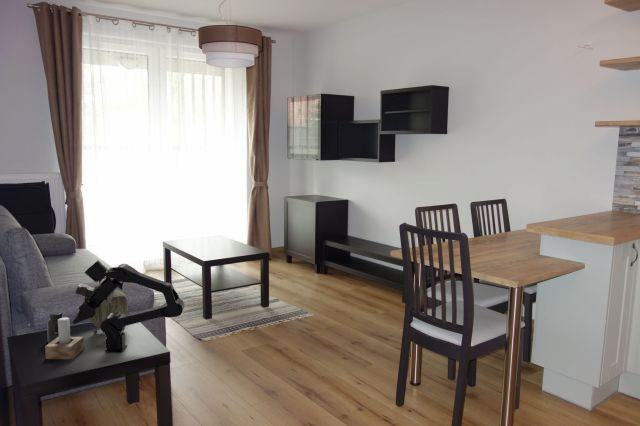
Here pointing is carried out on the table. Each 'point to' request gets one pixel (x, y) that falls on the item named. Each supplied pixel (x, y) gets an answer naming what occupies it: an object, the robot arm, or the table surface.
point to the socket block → (64, 348)
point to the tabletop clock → (110, 307)
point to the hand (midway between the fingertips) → (75, 319)
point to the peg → (64, 331)
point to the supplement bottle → (53, 325)
